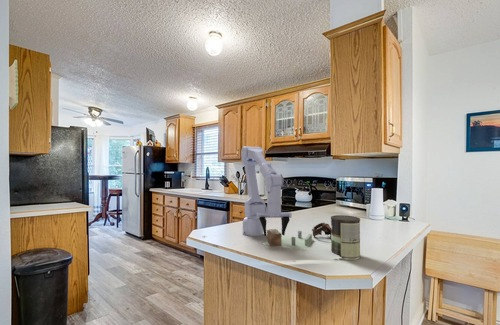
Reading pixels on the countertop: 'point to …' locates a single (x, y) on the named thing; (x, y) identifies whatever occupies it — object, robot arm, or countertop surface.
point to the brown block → (274, 237)
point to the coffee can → (345, 237)
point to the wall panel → (289, 241)
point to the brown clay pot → (321, 229)
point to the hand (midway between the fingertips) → (274, 235)
